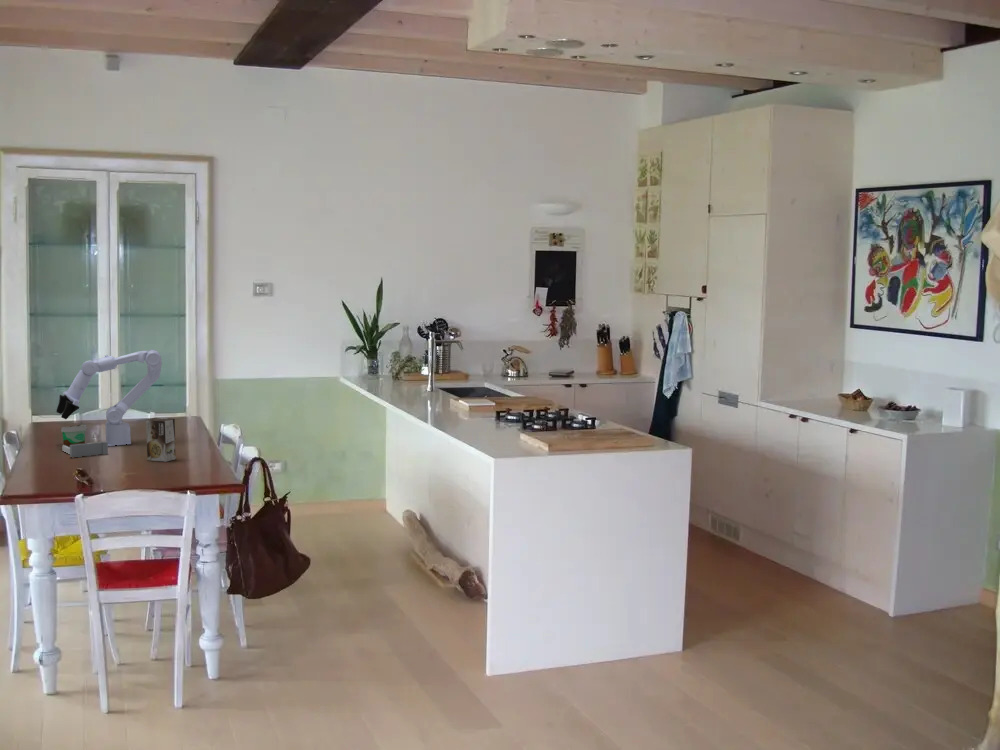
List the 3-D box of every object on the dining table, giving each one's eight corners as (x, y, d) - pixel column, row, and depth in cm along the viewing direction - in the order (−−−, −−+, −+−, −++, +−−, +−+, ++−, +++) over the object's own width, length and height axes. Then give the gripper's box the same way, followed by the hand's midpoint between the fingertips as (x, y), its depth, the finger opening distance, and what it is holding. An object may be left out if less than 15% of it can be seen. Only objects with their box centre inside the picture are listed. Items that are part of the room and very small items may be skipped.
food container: (74, 452, 418) (74, 427, 417) (61, 451, 420) (60, 426, 419) (94, 447, 430) (93, 423, 429) (81, 446, 432) (80, 422, 430)
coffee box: (176, 459, 407) (175, 418, 405) (166, 462, 401) (165, 420, 399) (157, 457, 410) (156, 417, 408) (146, 460, 404) (145, 419, 402)
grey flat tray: (94, 448, 427) (93, 436, 426) (107, 454, 414) (107, 442, 414) (58, 452, 418) (58, 439, 418) (71, 458, 405) (71, 445, 405)
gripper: (64, 378, 432) (47, 406, 431) (74, 387, 421) (57, 416, 420) (79, 385, 436) (63, 413, 435) (90, 394, 425) (72, 423, 424)
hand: (61, 415), depth 428 cm, fingers open, 7 cm apart
